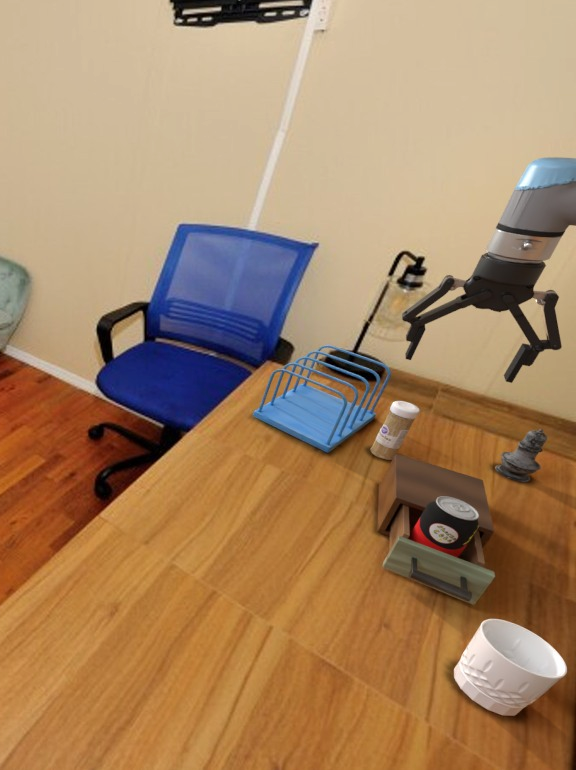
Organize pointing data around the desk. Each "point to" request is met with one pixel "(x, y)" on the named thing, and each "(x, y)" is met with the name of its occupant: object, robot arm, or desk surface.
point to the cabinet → (429, 491)
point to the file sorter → (319, 405)
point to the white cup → (507, 667)
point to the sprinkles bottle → (394, 429)
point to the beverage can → (446, 525)
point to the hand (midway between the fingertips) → (455, 367)
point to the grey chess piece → (523, 457)
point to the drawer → (436, 560)
